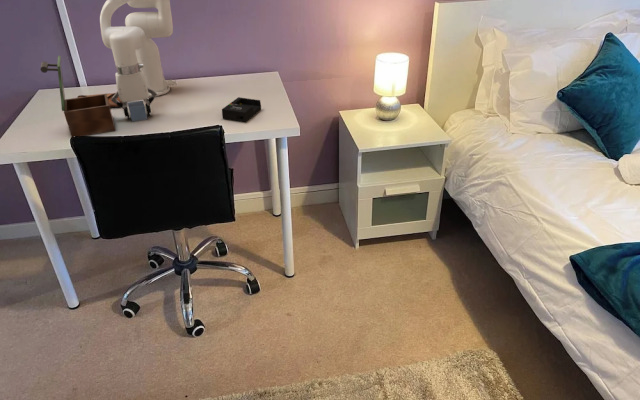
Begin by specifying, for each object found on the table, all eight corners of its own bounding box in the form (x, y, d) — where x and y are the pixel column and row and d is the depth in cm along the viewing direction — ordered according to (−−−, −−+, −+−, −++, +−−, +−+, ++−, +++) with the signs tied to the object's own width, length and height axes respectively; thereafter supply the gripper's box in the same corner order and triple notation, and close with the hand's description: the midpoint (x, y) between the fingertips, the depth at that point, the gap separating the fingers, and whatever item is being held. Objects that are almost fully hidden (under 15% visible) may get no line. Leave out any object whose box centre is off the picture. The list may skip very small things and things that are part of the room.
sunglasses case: (75, 111, 184) (72, 93, 183) (80, 114, 190) (77, 97, 190) (125, 106, 188) (122, 89, 187) (128, 109, 194) (125, 92, 194)
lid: (60, 55, 163) (41, 54, 160) (60, 66, 153) (39, 65, 151) (65, 98, 170) (46, 98, 168) (64, 111, 160) (44, 110, 158)
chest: (112, 117, 180) (106, 93, 175) (115, 130, 170) (108, 105, 165) (71, 123, 175) (64, 99, 170) (71, 137, 166) (63, 112, 160)
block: (145, 113, 183) (142, 100, 180) (147, 119, 178) (144, 105, 175) (130, 116, 181) (127, 102, 178) (132, 121, 177) (128, 107, 174)
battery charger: (245, 123, 175) (244, 112, 173) (222, 119, 178) (221, 109, 176) (261, 109, 185) (260, 100, 183) (239, 106, 188) (238, 96, 186)
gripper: (152, 62, 175) (161, 109, 185) (101, 69, 170) (113, 116, 179) (154, 68, 170) (164, 116, 179) (102, 75, 164) (114, 124, 173)
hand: (138, 115), depth 179 cm, fingers open, 6 cm apart
